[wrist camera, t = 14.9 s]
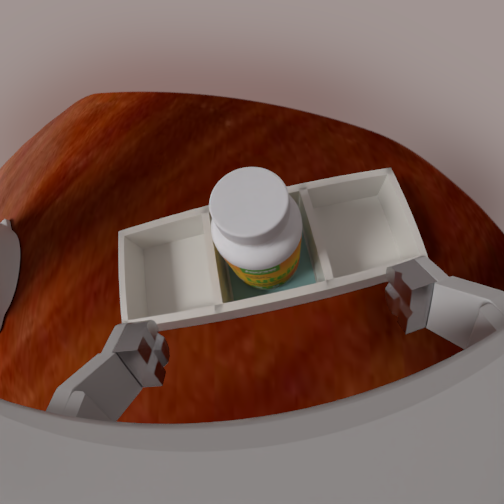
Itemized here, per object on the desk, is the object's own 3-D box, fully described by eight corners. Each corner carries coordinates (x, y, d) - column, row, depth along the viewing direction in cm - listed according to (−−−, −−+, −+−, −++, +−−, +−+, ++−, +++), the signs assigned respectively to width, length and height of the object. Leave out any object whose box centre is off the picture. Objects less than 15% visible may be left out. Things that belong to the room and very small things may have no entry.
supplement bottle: (250, 302, 21) (219, 272, 12) (223, 245, 23) (181, 184, 14) (311, 271, 21) (325, 219, 12) (280, 217, 23) (271, 141, 14)
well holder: (149, 332, 23) (122, 328, 19) (142, 248, 26) (118, 231, 21) (407, 275, 21) (429, 260, 17) (377, 194, 24) (390, 167, 20)
